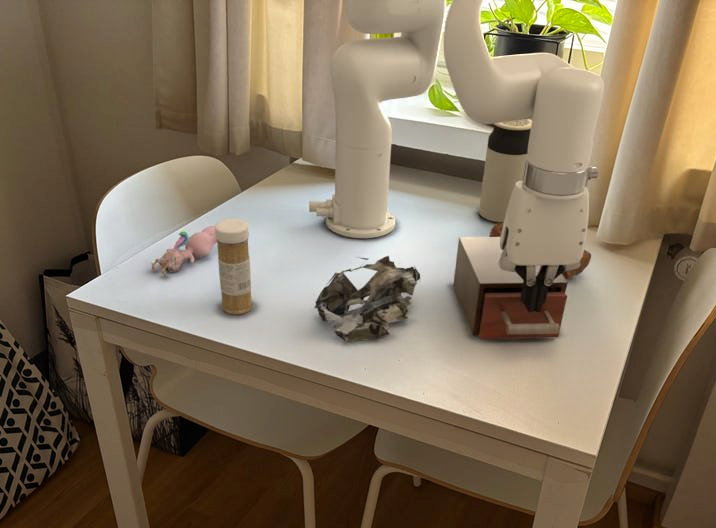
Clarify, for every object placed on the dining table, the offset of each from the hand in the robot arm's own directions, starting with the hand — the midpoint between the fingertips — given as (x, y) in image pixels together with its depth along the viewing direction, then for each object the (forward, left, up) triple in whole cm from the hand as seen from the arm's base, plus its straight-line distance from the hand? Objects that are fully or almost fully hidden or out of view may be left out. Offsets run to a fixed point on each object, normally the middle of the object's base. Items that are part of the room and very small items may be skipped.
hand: (531, 307), depth 103 cm
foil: (-21, +9, -7) cm, 24 cm away
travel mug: (+8, +46, -7) cm, 47 cm away
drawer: (0, +6, -6) cm, 9 cm away
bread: (+9, +27, -7) cm, 29 cm away
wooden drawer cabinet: (0, +12, -7) cm, 14 cm away
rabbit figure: (-48, +29, -7) cm, 56 cm away
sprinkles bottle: (-40, +13, -7) cm, 43 cm away
